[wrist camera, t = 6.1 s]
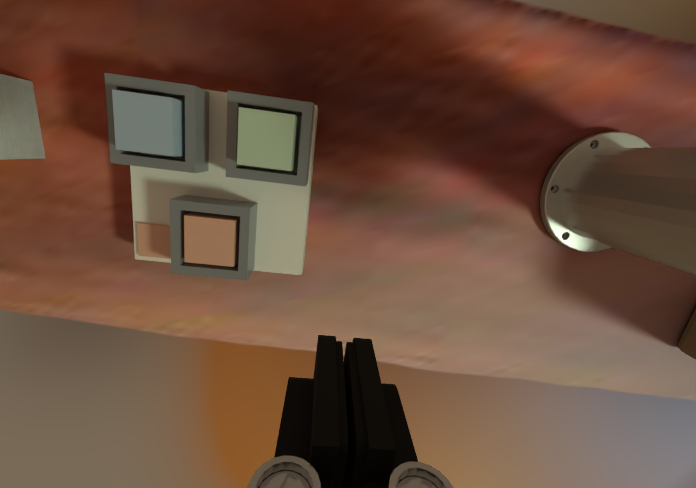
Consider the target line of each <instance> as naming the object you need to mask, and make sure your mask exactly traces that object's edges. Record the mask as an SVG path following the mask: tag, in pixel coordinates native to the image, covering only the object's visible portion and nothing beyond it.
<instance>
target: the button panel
mask: <svg viewBox="0 0 696 488" xmlns="http://www.w3.org/2000/svg"><path fill="white" fill-rule="evenodd" d="M104 76H105V91H106V106H107V120H108V135H109V149H110V163H115V164H123V165H130V172H131V191H132V210H133V229H134V248H135V259H139V260H149V261H159V262H170V263H171V273H174V274H185V275H196V276H207V277H217V278H228V279H239V280H247V279H248V278H249V276H250V275H251V273H252V271H263V272H274V273H284V274H294V275H302V271H303V266H304V257H305V246H306V236H307V225H308V215H309V204H310V193H311V183H312V172H313V162H314V151H315V140H316V130H317V119H318V106H317V105H314V103H313V102H306V101H299V100H292V99H285V98H278V97H271V96H264V95H257V94H250V93H243V92H236V91H229V90H228V93H227V92H220V91H213V90H206V89H201V88H199V87H197V86H194V85H187V84H180V83H173V82H166V81H159V80H152V79H145V78H139V77H132V76H125V75H118V74H111V73H104ZM112 89H113V90H120V91H127V92H134V93H141V94H149V95H156V96H163V97H170V98H174V99H177V100H180V101H183V102H185V156H165V155H157V154H149V153H141V152H133V151H125V150H117V149H116V145H115V130H114V114H113V98H112ZM239 107H242V108H249V109H256V110H263V111H271V112H278V113H285V114H292V115H296V116H297V117H298V125H297V138H296V150H295V163H294V170H292V171H286V170H278V169H270V168H262V167H254V166H246V165H238V164H237V145H238V115H239ZM193 211H194V212H203V213H213V214H222V215H231V216H240V234H239V261H238V262H237V263H236V264H235V266H234V267H230V266H219V265H209V264H199V263H189V262H185V258H184V215H186V214H188V213H190V212H193Z"/></svg>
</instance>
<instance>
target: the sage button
mask: <svg viewBox="0 0 696 488" xmlns="http://www.w3.org/2000/svg"><path fill="white" fill-rule="evenodd" d="M297 125H298V117H297V116H296V115H292V114H285V113H278V112H271V111H263V110H256V109H249V108H242V107H239V115H238V145H237V164H238V165H246V166H254V167H262V168H270V169H278V170H286V171H292V170H294V163H295V150H296V138H297Z"/></svg>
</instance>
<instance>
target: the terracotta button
mask: <svg viewBox="0 0 696 488" xmlns="http://www.w3.org/2000/svg"><path fill="white" fill-rule="evenodd" d="M239 234H240V216H231V215H222V214H213V213H203V212H194V211H193V212H190V213H188V214H186V215H184V258H185V262H189V263H199V264H209V265H219V266H230V267H234V266H235V264H236V263H237V262H238V261H239Z"/></svg>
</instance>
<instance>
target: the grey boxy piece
mask: <svg viewBox="0 0 696 488" xmlns="http://www.w3.org/2000/svg"><path fill="white" fill-rule="evenodd" d="M40 158H46V157H45V152H44V146H43V140H42V135H41V129H40V123H39V118H38V112H37V106H36V100H35V95H34V89H33V83H32V81H28V80H24V79H20V78H16V77H11V76H7V75H3V74H0V159H40Z"/></svg>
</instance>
